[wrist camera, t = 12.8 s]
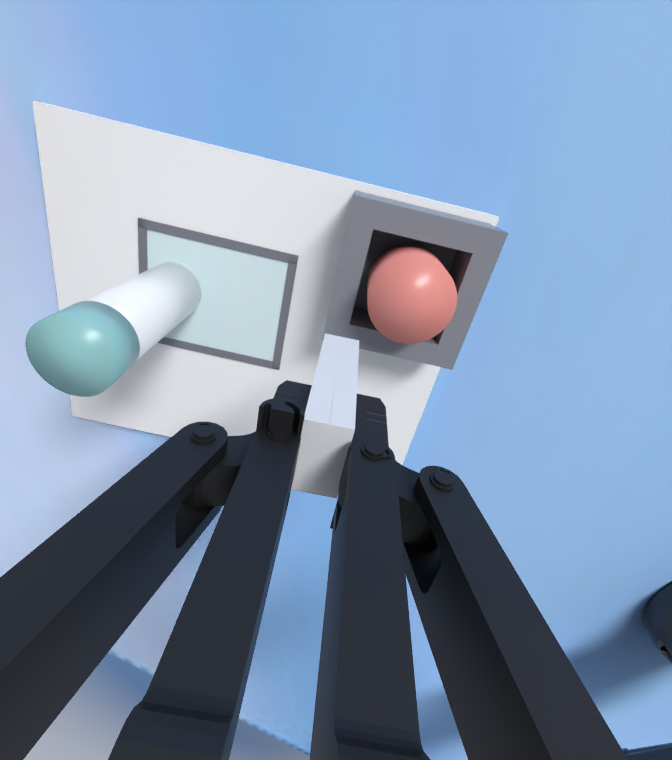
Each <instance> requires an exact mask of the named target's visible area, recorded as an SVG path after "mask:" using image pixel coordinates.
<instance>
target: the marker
mask: <svg viewBox="0 0 672 760" xmlns="http://www.w3.org/2000/svg"><path fill="white" fill-rule="evenodd" d="M200 301H201V287H200V284H199V282H198V280H197V278H196V277H195V275H194V274H193V273H192V272H191V271H190V270H189V269H187V268H186V267H184V266H182V265H180V264H177V263H173V262H165V263H161V264H159V265H157V266H155V267H153V268H151V269H149V270H147V271H145V272H143V273H141V274H139V275H137V276H134V277H132V278H130V279H128V280H126V281H124V282H122V283H120V284H118V285H116V286H114V287H112V288H110V289H108V290H106V291H104V292H102V293H100V294H98V295H96V296H94V297H92V298H90V299H88V300H86V301H81V302H77V303H75V304H73V305H71V306H69V307H67V308H65V309H63V310H61V311H58V312H56V313H54V314H52V315H50V316H48V317H46V318H44V319H42V320H40V321H38V322H36V323H35V324H34V325H33V326H32V327H31V328H30V330H29V331H28V334H27V337H26V351H27V355H28V358H29V360H30V362H31V364H32V366H33V367H34V369H35V370H36V371H37V373H38V374H39V375H40V376H41V377H42V378H43V379H44V380H45V381H46V382H48V383H49V384H50V385H52V386H53V387H55V388H56V389H58V390H60V391H62V392H65V393H67V394H70V395H74V396H80V397H90V396H95V395H98V394H100V393H102V392H104V391H105V390H106V389H108V388H109V387H110V386H111V385H112V384H113V383H114V382H115V381H117V380H118V379H119V378H120V377H121V376H122V375H123V374H125V373H126V372H127V371H128V370H129V369H130V368H131V367H133V365H134V364H135V363H136V361H137V360H138V359H139V358H140V357H141V356H142V355H144V354H145V353H146V352H147V351H148V350H149V349H150V348H152V347H153V346H154V345H155V344H156V343H157V342H159V341H160V340H161V339H162V338H163V337H164V336H166V335H167V334H168V333H169V332H170V331H171V330H172V329H174V328H175V327H176V326H177V325H178V324H179V323H181V322H182V321H183V320H184V319H185V318H186V317H187V316H189V315H190V314H191V313H192V312H193V311H194V310H196V308H197V307H198V306H199V304H200Z"/></svg>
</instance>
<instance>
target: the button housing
mask: <svg viewBox="0 0 672 760" xmlns="http://www.w3.org/2000/svg"><path fill="white" fill-rule="evenodd" d="M507 235H508V233H507V232H505V231H503V230H501V229H499V228H497V227H495V226H493V225H491V224H489V223H486V222H482V221H478V220H474V219H470V218H465V217H461V216H457V215H453V214H449V213H445V212H441V211H437V210H433V209H429V208H425V207H421V206H417V205H413V204H409V203H405V202H401V201H397V200H393V199H389V198H385V197H381V196H377V195H373V194H369V193H365V192H361V191H357V190H356V191H355V194H354V198H353V203H352V207H351V212H350V216H349V221H348V225H347V230H346V234H345V239H344V243H343V248H342V252H341V257H340V262H339V266H338V271H337V275H336V280H335V284H334V289H333V293H332V298H331V302H330V307H329V311H328V316H327V321H326V325H325V330H324V334H323V339H322V340H324V336H325V333H326V334H330V335H335V336H340V337H345V338H350V339H354V340H359V349H364V350H368V351H372V352H377V353H381V354H386V355H390V356H394V357H399V358H403V359H407V360H412V361H416V362H421V363H425V364H429V365H434V366H438V367H442V368H447V369H451V370H452V369H453V366H454V364H455V361H456V359H457V357H458V354H459V352H460V349H461V347H462V344H463V342H464V340H465V337H466V335H467V332H468V330H469V327H470V325H471V323H472V320H473V318H474V315H475V313H476V310H477V308H478V305H479V303H480V301H481V298H482V296H483V293H484V291H485V288H486V286H487V284H488V281H489V279H490V276H491V274H492V271H493V269H494V267H495V264H496V262H497V259H498V257H499V254H500V252H501V250H502V247H503V245H504V242H505V240H506V237H507ZM400 243H415V244H419V245H422V246H424V247H426V248H428V249H429V250H431V251H432V252H433V253H434V254H435V255H436V257H437V258H438V259H439V261H440V262H441V263H442V265H443V266H444V267H445V269H446V270H447V271H448V273H449V274H450V276H451V277H452V279H453V281H454V283H455V286H456V290H457V305H456V309H455V313H454V315H453V317H452V319H451V321H450V322H449V324H448V325H447V326H446V327H445V328H444V329H443V330H442V331H441V332H440V333H439V334H438V335H436V336H435V337H433V338H431V339H429V340H427V341H424V342H420V343H414V344H404V343H398V342H395V341H392V340H390V339H388V338H386V337H385V336H383V335H382V334H381V333H380V332H379V331H378V330H377V329H376V328H375V326H374V325H373V323H372V321H371V319H370V316H369V313H368V305H367V278H368V273H369V270H370V267H371V265H372V263H373V262H374V260H375V259H376V258H377V257H378V255H379V254H381V253H382V252H383V251H384V250H386V249H387V248H389V247H391V246H394V245H396V244H400Z"/></svg>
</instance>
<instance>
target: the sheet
mask: <svg viewBox="0 0 672 760" xmlns="http://www.w3.org/2000/svg"><path fill="white" fill-rule="evenodd" d="M32 102H33V109H34V117H35V125H36V133H37V141H38V149H39V157H40V164H41V172H42V180H43V188H44V196H45V204H46V212H47V219H48V227H49V235H50V243H51V251H52V259H53V267H54V274H55V282H56V290H57V298H58V306H59V311H61V310H63V309H65V308H67V307H69V306H71V305H73V304H75V303H77V302H81V301H86V300H88V299H90V298H92V297H94V296H96V295H98V294H100V293H102V292H104V291H106V290H108V289H110V288H112V287H114V286H116V285H118V284H120V283H122V282H124V281H126V280H128V279H130V278H132V277H134V276H137V275H139V274H141V273H143V272H145V271H147V270H149V269H151V268H153V267H155V266H157V265H159V264H161V263H165V262H173V263H177V264H180V265H182V266H184V267H186V268H187V269H189V270H190V271H191V272H192V273H193V274H194V275H195V277H196V278H197V280H198V282H199V284H200V287H201V301H200V304H199V306H198V307H197V308H196V310H194V311H193V312H192V313H191V314H190V315H189V316H187V317H186V318H185V319H184V320H183V321H182V322H181V323H179V324H178V325H177V326H176V327H175V328H174V329H172V330H171V331H170V332H169V333H168V334H167V335H166V336H164V337H163V338H162V339H161V340H160V341H159V342H157V343H156V344H155V345H154V346H153V347H152V348H150V349H149V350H148V351H147V352H146V353H145V354H144V355H142V356H141V357H140V358H139V359H138V360H137V361H136V363H135V364H134V365H133V367H131V368H130V369H129V370H128V371H127V372H126V373H125V374H123V375H122V376H121V377H120V378H119V379H118V380H117V381H115V382H114V383H113V384H112V385H111V386H110V387H109V388H108V389H106V390H105V391H104V392H102V393H100V394H98V395H95V396H90V397H80V396H74V395H70V400H71V408H72V416H74V417H79V418H83V419H88V420H93V421H98V422H102V423H107V424H112V425H117V426H121V427H126V428H131V429H135V430H140V431H145V432H150V433H154V434H159V435H164V436H168V437H172V436H173V435H175V434H176V433H177V432H178V431H179V430H181V429H182V428H183V427H185V426H187V425H189V424H191V423H195V422H212V423H216V424H218V425H220V426H222V427H224V429H225V430H226V431H227V434H228V436H240V435H247V434H251V433H253V432H255V431H256V428H257V420H258V411H259V406H260V405H261V403H262V402H264V401H266V400H268V399H273V398H274V395H275V393H276V390H277V388H278V386H279V385H280V384H282V383H283V382H285V381H286V380H288V381H293V382H298V383H303V384H308V385H312V383H313V379H314V375H315V371H316V367H317V363H318V359H319V356H320V352H321V348H322V344H323V340H322V339H323V334H324V330H325V325H326V321H327V316H328V311H329V307H330V302H331V298H332V293H333V289H334V284H335V280H336V275H337V271H338V266H339V262H340V257H341V252H342V248H343V243H344V239H345V234H346V230H347V225H348V221H349V216H350V212H351V207H352V203H353V198H354V194H355V191H356V190H357V191H361V192H365V193H369V194H373V195H377V196H381V197H385V198H389V199H393V200H397V201H401V202H405V203H409V204H413V205H417V206H421V207H425V208H429V209H433V210H437V211H441V212H445V213H449V214H453V215H457V216H461V217H465V218H470V219H474V220H478V221H482V222H486V223H489V224H491V225H493V226H495V227H496V225H497V223H498V220H499V217H498V216H496V215H492V214H488V213H484V212H480V211H476V210H472V209H468V208H464V207H460V206H456V205H452V204H448V203H444V202H440V201H436V200H432V199H428V198H424V197H420V196H416V195H412V194H408V193H404V192H400V191H396V190H392V189H388V188H384V187H380V186H376V185H372V184H368V183H364V182H360V181H356V180H352V179H348V178H344V177H340V176H336V175H332V174H328V173H324V172H320V171H316V170H312V169H308V168H304V167H300V166H296V165H292V164H288V163H284V162H280V161H276V160H272V159H268V158H264V157H260V156H256V155H252V154H248V153H244V152H240V151H236V150H232V149H228V148H224V147H220V146H216V145H212V144H208V143H204V142H200V141H196V140H192V139H188V138H184V137H180V136H176V135H172V134H168V133H164V132H160V131H156V130H152V129H148V128H144V127H140V126H136V125H132V124H128V123H124V122H120V121H116V120H112V119H108V118H104V117H100V116H96V115H92V114H87V113H83V112H79V111H75V110H71V109H67V108H63V107H59V106H55V105H51V104H47V103H42V102H37V101H32ZM439 370H440V367H438V366H434V365H429V364H425V363H421V362H416V361H412V360H407V359H403V358H399V357H394V356H390V355H386V354H381V353H377V352H372V351H368V350H364V349H359V358H358V378H357V394H362V395H366V396H371V397H376V398H380V399H381V401H382V402H383V403H384V405H385V406H386V417H387V430H388V444H389V447H390V449H391V450H392V451H393V453H394V455H395V460H396V461H397V462H398V463H400V464H401V465H402V464H403V461H404V459H405V456H406V454H407V451H408V449H409V446H410V444H411V441H412V439H413V436H414V433H415V431H416V428H417V426H418V423H419V421H420V418H421V416H422V413H423V411H424V408H425V406H426V403H427V400H428V398H429V395H430V393H431V390H432V388H433V385H434V383H435V380H436V378H437V375H438V372H439Z"/></svg>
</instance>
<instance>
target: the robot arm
mask: <svg viewBox="0 0 672 760" xmlns="http://www.w3.org/2000/svg"><path fill="white" fill-rule="evenodd" d="M358 358H359V340H354V339H350V338H345V337H340V336H335V335H330V334H326V333H325V336H324V340H323V344H322V348H321V352H320V356H319V359H318V363H317V367H316V371H315V375H314V379H313V383H312V385H308V384H303V383H298V382H293V381H288V380H286V381H285V382H283V383H282V384H280V385H279V386H278V388H277V390H276V393H275V395H274V398H273V399H268V400H266V401H264V402H262V403H261V405H260V406H259V411H258V420H257V428H256V431H255V432H253V433H251V434H247V435H240V436H228V434H227V431H226V430H225V429H224V427H222V426H220V425H218V424H216V423H212V422H195V423H191V424H189V425H187V426H185V427H183V428H182V429H181V430H179V431H178V432H177V433H176V434H175V435H173V436H172V437H171V438H170V439H169V440H167V441H166V442H165V443H164V444H162V445H161V446H160V447H159V448H158V449H156V450H155V451H154V452H153V453H151V454H150V455H149V456H148V457H147V458H145V459H144V460H143V461H142V462H140V463H139V464H138V465H137V466H136V467H134V468H133V469H132V470H131V471H130V472H128V473H127V474H126V475H125V476H123V477H122V478H121V479H120V480H119V481H117V482H116V483H115V484H114V485H112V486H111V487H110V488H109V489H108V490H106V491H105V492H104V493H103V494H101V495H100V496H99V497H98V498H97V499H95V500H94V501H93V502H92V503H91V504H89V505H88V506H87V507H86V508H84V509H83V510H82V511H81V512H80V513H78V514H77V515H76V516H75V517H73V518H72V519H71V520H70V521H69V522H67V523H66V524H65V525H64V526H63V527H61V528H60V529H59V530H58V531H56V532H55V533H54V534H53V535H52V536H50V537H49V538H48V539H47V540H45V541H44V542H43V543H42V544H41V545H39V546H38V547H37V548H36V549H34V550H33V551H32V552H31V553H30V554H28V555H27V556H26V557H25V558H24V559H22V560H21V561H20V562H19V563H17V564H16V565H15V566H14V567H13V568H11V569H10V570H9V571H8V572H6V573H5V574H4V575H3V576H2V577H0V760H23V759H24V758H25V757H26V755H27V754H28V753H29V751H30V750H31V749H32V748H33V746H34V745H35V744H36V743H37V741H38V740H39V739H40V737H41V736H42V735H43V734H44V733H45V731H46V730H47V729H48V727H49V726H50V725H51V724H52V722H53V721H54V720H55V719H56V717H57V716H58V715H59V714H60V712H61V711H62V710H63V708H64V707H65V706H66V705H67V703H68V702H69V701H70V700H71V698H72V697H73V696H74V695H75V693H76V692H77V691H78V689H79V688H80V687H81V686H82V684H83V683H84V682H85V681H86V679H87V678H88V677H89V676H90V674H91V673H92V672H93V670H94V669H95V668H96V667H97V665H98V664H99V663H100V662H101V660H102V659H103V658H104V657H105V655H106V654H107V653H108V652H109V650H110V649H111V648H112V646H113V645H114V644H115V643H116V641H117V640H118V639H119V638H120V636H121V635H122V634H123V633H124V631H125V630H126V629H127V628H128V626H129V625H130V624H131V622H132V621H133V620H134V619H135V617H136V616H137V615H138V614H139V612H140V611H141V610H142V609H143V607H144V606H145V605H146V603H147V602H148V601H149V600H150V598H151V597H152V596H153V595H154V593H155V592H156V591H157V590H158V588H159V587H160V586H161V585H162V583H163V582H164V581H165V579H166V578H167V577H168V576H169V574H170V573H171V572H172V571H173V569H174V568H175V567H176V566H177V564H178V563H179V562H180V560H181V559H182V558H183V557H184V555H185V554H186V553H187V552H188V550H189V549H190V548H191V547H192V545H193V544H194V543H195V542H196V540H197V539H198V538H199V536H200V535H201V534H202V533H203V531H204V530H205V529H206V528H207V526H208V525H209V524H210V523H211V521H212V520H213V519H214V517H215V516H216V515H217V514H218V512H219V511H220V509H221V507H222V506H224V508H223V511H222V513H221V516H220V518H219V520H218V523H217V525H216V528H215V530H214V532H213V535H212V537H211V540H210V542H209V544H208V547H207V549H206V552H205V554H204V556H203V559H202V561H201V564H200V566H199V568H198V571H197V573H196V576H195V578H194V580H193V583H192V585H191V588H190V590H189V592H188V595H187V597H186V600H185V602H184V604H183V607H182V609H181V612H180V614H179V617H178V619H177V621H176V624H175V626H174V629H173V631H172V633H171V636H170V638H169V641H168V643H167V645H166V648H165V650H164V653H163V655H162V657H161V660H160V662H159V665H158V667H157V669H156V672H155V674H154V677H153V679H152V681H151V684H150V686H149V689H148V691H147V693H146V695H145V696H144V698H143V700H142V701H141V702H140V703H139V704H138V705H137V706H135V707H134V708H133V710H132V711H131V713H130V715H129V717H128V718H127V719H126V721H125V724H124V726H123V728H122V730H121V732H120V734H119V737H118V738H117V740H116V743H115V745H114V747H113V750H112V752H111V754H110V757H109V759H108V760H229V757H230V752H231V748H232V744H233V739H234V735H235V731H236V726H237V722H238V718H239V713H240V709H241V705H242V701H243V696H244V692H245V688H246V683H247V679H248V675H249V670H250V666H251V662H252V657H253V653H254V649H255V644H256V640H257V636H258V631H259V627H260V623H261V619H262V614H263V610H264V606H265V601H266V597H267V593H268V588H269V584H270V580H271V575H272V571H273V567H274V562H275V558H276V554H277V549H278V545H279V541H280V536H281V532H282V528H283V524H284V519H285V515H286V511H287V506H288V502H289V497H290V491H291V489H292V490H297V491H302V492H307V493H312V494H317V495H322V496H327V497H332V498H337V495H338V500H337V504H336V508H335V511H334V515H333V519H332V523H331V526H330V528H332V529H333V532H332V542H331V552H330V562H329V572H328V582H327V592H326V602H325V612H324V622H323V632H322V642H321V652H320V662H319V672H318V682H317V692H316V702H315V712H314V722H313V732H312V742H311V752H310V760H430V759H429V757H428V756H427V755H426V754H425V752H424V751H423V749H422V745H421V741H420V734H419V723H418V712H417V701H416V689H415V678H414V667H413V655H412V644H411V632H410V621H409V610H408V598H407V587H406V576H407V579H408V582H409V585H410V588H411V591H412V594H413V597H414V600H415V603H416V606H417V609H418V612H419V615H420V618H421V621H422V624H423V627H424V630H425V633H426V636H427V639H428V642H429V645H430V648H431V651H432V653H433V656H434V659H435V662H436V665H437V668H438V671H439V674H440V677H441V680H442V683H443V686H444V689H445V692H446V695H447V698H448V701H449V704H450V707H451V710H452V713H453V716H454V719H455V722H456V725H457V728H458V731H459V734H460V737H461V739H462V742H463V745H464V748H465V751H466V754H467V757H468V760H672V743H667V744H661V745H655V746H649V747H643V748H637V749H631V750H628V749H626V748H623V749H621V747H620V746H619V744H618V742H617V741H616V739H615V737H614V735H613V734H612V732H611V730H610V729H609V727H608V725H607V724H606V722H605V720H604V719H603V717H602V715H601V714H600V712H599V710H598V709H597V707H596V705H595V704H594V702H593V700H592V699H591V697H590V695H589V693H588V692H587V690H586V688H585V687H584V685H583V683H582V682H581V680H580V678H579V677H578V675H577V673H576V672H575V670H574V668H573V667H572V665H571V663H570V662H569V660H568V658H567V656H566V655H565V653H564V651H563V650H562V648H561V646H560V645H559V643H558V641H557V640H556V638H555V636H554V635H553V633H552V631H551V630H550V628H549V626H548V625H547V623H546V621H545V619H544V618H543V616H542V614H541V613H540V611H539V609H538V608H537V606H536V604H535V603H534V601H533V599H532V598H531V596H530V594H529V593H528V591H527V589H526V588H525V586H524V584H523V582H522V581H521V579H520V577H519V576H518V574H517V572H516V571H515V569H514V567H513V566H512V564H511V562H510V561H509V559H508V557H507V556H506V554H505V552H504V551H503V549H502V547H501V546H500V544H499V542H498V540H497V539H496V537H495V535H494V534H493V532H492V530H491V529H490V527H489V525H488V524H487V522H486V520H485V519H484V517H483V515H482V514H481V512H480V510H479V509H478V507H477V505H476V503H475V502H474V500H473V498H472V497H471V495H470V493H469V492H468V490H467V488H466V487H465V485H464V483H463V482H462V481H461V479H460V478H459V477H458V476H457V475H456V474H454V473H453V472H451V471H450V470H447V469H445V468H443V467H438V466H427V467H425V468H423V469H422V470H421V471H420V473H417V472H415V471H413V470H411V469H408V468H406V467H404V466H403V465H401V464H400V463H398V462H397V461H396V460H395V455H394V453H393V451H392V450H391V449H390V447H389V444H388V430H387V417H386V406H385V405H384V403H383V402H382V401H381V399H380V398H376V397H371V396H366V395H362V394H357V378H358ZM338 491H339V493H338ZM405 573H406V576H405ZM643 624H644V627H645V629H646V631H647V632H648V634H649V636H650V637H651V639H652V641H653V642H654V644H655V646H656V647H657V648H658V650H659V651H660V652H661V653H662V654H663V655H664V656H665V657H666V658H667V659H669V660H670V662H671V663H672V584H671V585H669V586H667V587H666V588H664V589H663V590H661V591H660V592H659V593H658V594H657V595H655V596H654V597H653V598H652V599H651V601H650V602H649V603H648V605H647V606H646V608H645V610H644V613H643Z"/></svg>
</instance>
